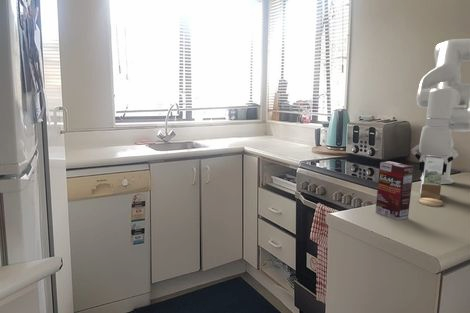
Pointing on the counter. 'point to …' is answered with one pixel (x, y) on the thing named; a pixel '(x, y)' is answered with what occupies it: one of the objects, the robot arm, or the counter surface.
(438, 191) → the cradle
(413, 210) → the counter surface
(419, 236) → the counter surface
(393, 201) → the supplement box
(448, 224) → the counter surface
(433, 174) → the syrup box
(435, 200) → the disc
